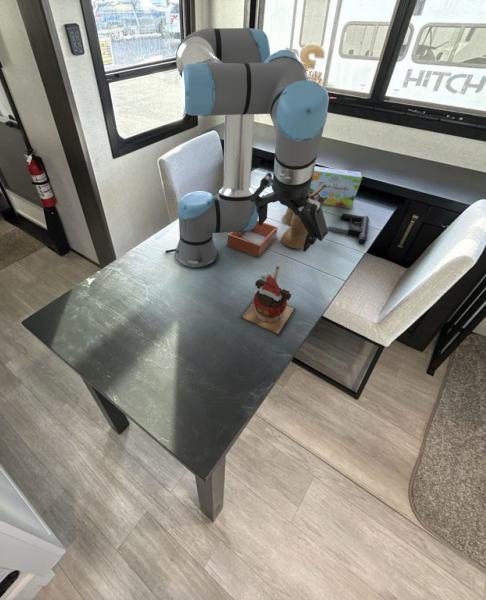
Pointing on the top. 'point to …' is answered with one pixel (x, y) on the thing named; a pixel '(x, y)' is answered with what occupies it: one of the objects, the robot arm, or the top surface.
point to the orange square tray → (250, 246)
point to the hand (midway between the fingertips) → (284, 234)
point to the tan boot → (295, 234)
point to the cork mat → (271, 326)
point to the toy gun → (354, 231)
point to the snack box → (335, 186)
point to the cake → (270, 298)
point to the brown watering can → (290, 212)
